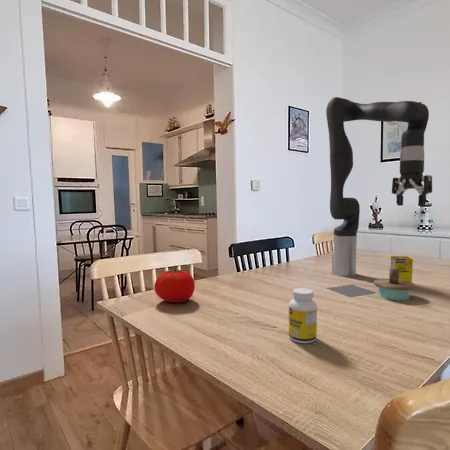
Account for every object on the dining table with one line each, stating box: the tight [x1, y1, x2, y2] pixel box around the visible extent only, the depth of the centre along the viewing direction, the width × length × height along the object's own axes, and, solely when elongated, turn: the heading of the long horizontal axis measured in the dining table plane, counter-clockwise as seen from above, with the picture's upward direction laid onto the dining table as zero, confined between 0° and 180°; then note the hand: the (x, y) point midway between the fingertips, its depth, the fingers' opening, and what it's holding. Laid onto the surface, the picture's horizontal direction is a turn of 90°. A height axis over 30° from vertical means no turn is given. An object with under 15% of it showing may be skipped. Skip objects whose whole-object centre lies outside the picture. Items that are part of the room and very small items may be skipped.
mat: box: [325, 284, 377, 298], centre depth 117 cm, size 12×12×1 cm
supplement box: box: [390, 255, 414, 283], centre depth 123 cm, size 6×6×11 cm
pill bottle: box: [288, 287, 318, 344], centre depth 78 cm, size 6×6×12 cm
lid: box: [373, 267, 416, 291], centre depth 110 cm, size 12×12×5 cm
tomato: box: [154, 268, 196, 303], centre depth 108 cm, size 13×12×11 cm
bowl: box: [377, 287, 411, 301], centre depth 110 cm, size 9×9×4 cm
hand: (410, 205), depth 118 cm, fingers open, 8 cm apart
